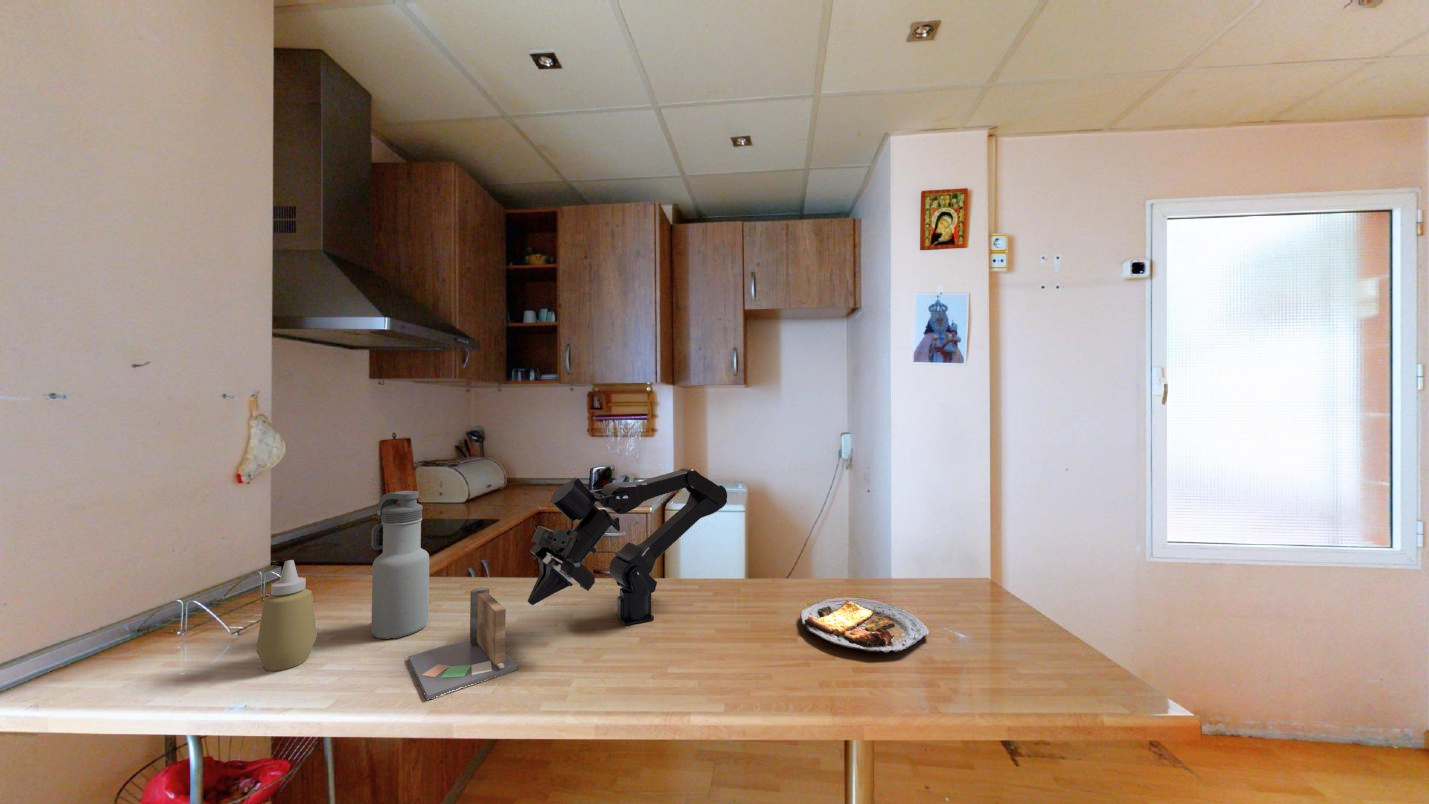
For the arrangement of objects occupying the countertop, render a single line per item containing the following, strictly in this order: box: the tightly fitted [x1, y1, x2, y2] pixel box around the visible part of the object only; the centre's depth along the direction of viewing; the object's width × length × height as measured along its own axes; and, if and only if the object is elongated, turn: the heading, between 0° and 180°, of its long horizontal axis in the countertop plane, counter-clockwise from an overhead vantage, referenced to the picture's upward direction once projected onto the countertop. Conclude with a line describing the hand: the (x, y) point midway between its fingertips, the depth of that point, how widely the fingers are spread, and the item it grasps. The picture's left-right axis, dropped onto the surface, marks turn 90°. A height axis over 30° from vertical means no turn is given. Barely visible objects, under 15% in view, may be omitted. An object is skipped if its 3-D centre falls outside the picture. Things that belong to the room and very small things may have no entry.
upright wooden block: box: [469, 587, 507, 669], centre depth 87 cm, size 15×3×9 cm, turn 42°
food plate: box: [799, 597, 929, 655], centre depth 99 cm, size 25×23×4 cm
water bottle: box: [370, 490, 430, 640], centre depth 98 cm, size 10×10×28 cm
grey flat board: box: [407, 638, 518, 700], centre depth 84 cm, size 16×14×1 cm
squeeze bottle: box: [255, 559, 318, 672], centre depth 85 cm, size 8×8×18 cm
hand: (529, 603), depth 90 cm, fingers closed
